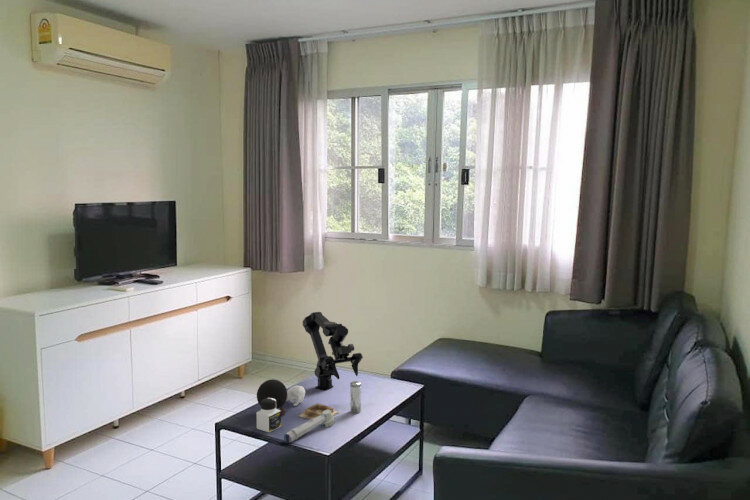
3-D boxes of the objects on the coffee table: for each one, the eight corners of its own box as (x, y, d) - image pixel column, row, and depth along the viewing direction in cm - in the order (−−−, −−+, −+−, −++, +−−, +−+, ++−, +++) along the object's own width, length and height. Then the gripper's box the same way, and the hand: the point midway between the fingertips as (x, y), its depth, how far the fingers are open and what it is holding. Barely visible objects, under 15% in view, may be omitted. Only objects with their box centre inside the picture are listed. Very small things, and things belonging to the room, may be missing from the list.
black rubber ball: (293, 412, 238) (293, 379, 236) (271, 422, 227) (270, 387, 226) (273, 405, 246) (272, 373, 244) (250, 414, 235) (250, 381, 234)
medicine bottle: (269, 433, 217) (268, 404, 216) (256, 428, 221) (255, 400, 220) (281, 426, 223) (281, 398, 222) (268, 422, 227) (268, 395, 226)
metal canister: (348, 412, 238) (348, 383, 237) (354, 408, 242) (354, 380, 241) (356, 414, 236) (357, 385, 235) (363, 410, 240) (363, 382, 239)
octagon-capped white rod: (281, 431, 210) (327, 404, 228) (283, 447, 211) (328, 419, 229) (290, 435, 206) (336, 408, 225) (292, 451, 208) (337, 422, 226)
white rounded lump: (298, 388, 243) (276, 386, 248) (300, 407, 243) (278, 405, 248) (306, 384, 248) (284, 382, 253) (307, 402, 249) (286, 400, 254)
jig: (299, 416, 233) (299, 410, 233) (316, 407, 243) (316, 401, 243) (321, 423, 227) (321, 416, 227) (338, 413, 237) (338, 407, 237)
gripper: (324, 340, 243) (334, 371, 234) (361, 335, 252) (372, 365, 243) (317, 353, 251) (327, 383, 242) (353, 348, 260) (364, 377, 251)
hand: (348, 377), depth 244 cm, fingers open, 9 cm apart
